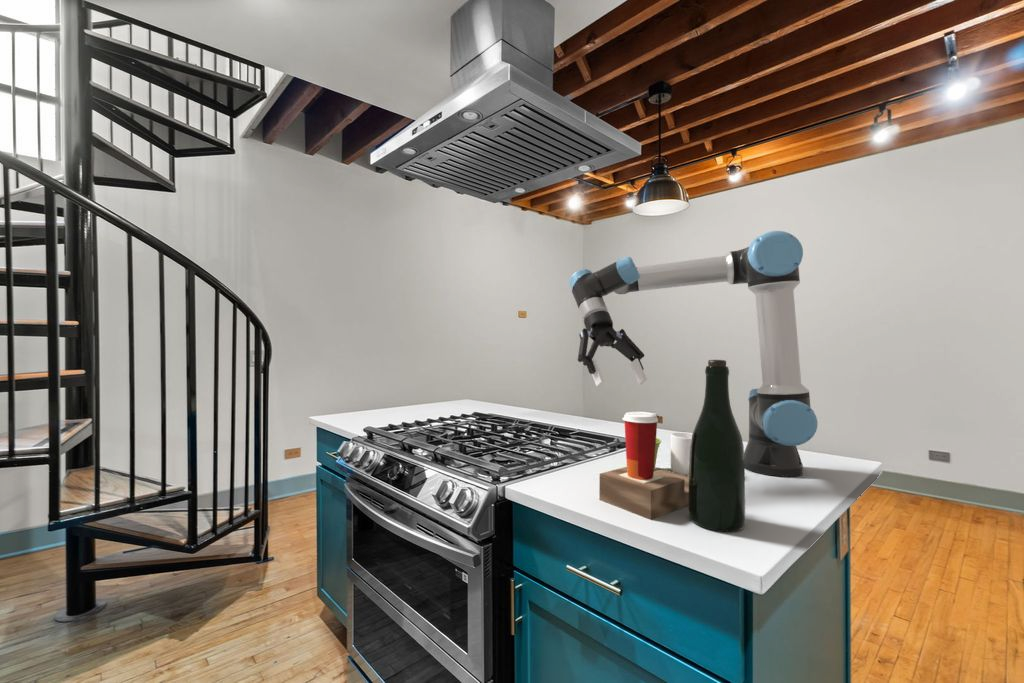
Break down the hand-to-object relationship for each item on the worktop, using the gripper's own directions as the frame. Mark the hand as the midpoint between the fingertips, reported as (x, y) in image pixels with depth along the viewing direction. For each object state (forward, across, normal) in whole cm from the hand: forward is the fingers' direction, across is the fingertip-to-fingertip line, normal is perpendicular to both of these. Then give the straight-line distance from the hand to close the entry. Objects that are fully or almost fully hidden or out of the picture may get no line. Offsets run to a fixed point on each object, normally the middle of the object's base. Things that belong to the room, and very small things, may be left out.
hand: (622, 383), depth 115 cm
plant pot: (+18, -13, -20) cm, 30 cm away
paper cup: (+24, +6, +1) cm, 25 cm away
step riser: (+28, 0, -4) cm, 29 cm away
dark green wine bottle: (+37, -2, +9) cm, 39 cm away
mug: (+22, -22, -13) cm, 34 cm away
